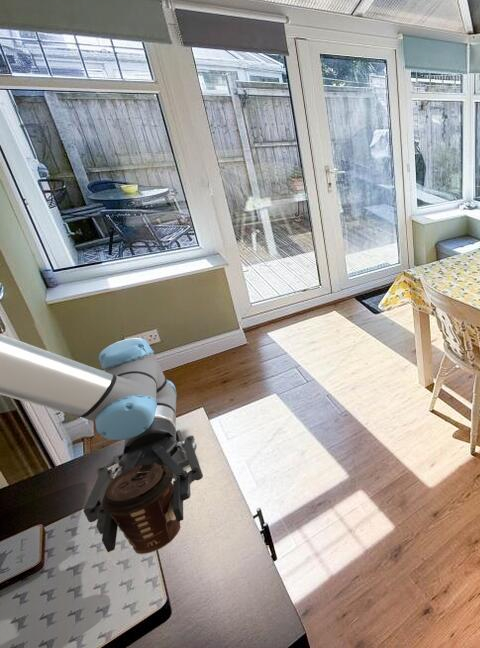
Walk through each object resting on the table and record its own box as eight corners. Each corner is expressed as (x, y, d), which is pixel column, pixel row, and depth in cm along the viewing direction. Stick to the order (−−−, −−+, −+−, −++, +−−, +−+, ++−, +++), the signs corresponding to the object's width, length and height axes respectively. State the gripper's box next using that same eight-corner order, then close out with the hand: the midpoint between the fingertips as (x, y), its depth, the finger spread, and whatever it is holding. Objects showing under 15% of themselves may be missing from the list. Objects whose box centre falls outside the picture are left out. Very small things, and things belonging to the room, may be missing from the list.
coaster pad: (121, 497, 84) (118, 491, 83) (116, 462, 92) (114, 456, 91) (191, 465, 92) (188, 459, 91) (181, 435, 99) (179, 429, 98)
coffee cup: (176, 502, 75) (156, 449, 70) (199, 526, 71) (180, 472, 66) (115, 543, 68) (88, 487, 63) (138, 572, 64) (111, 515, 59)
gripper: (218, 427, 87) (228, 511, 71) (86, 473, 76) (60, 586, 59) (210, 399, 84) (218, 480, 68) (70, 443, 73) (39, 552, 56)
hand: (144, 529), depth 63 cm, fingers closed on coffee cup, 8 cm apart
